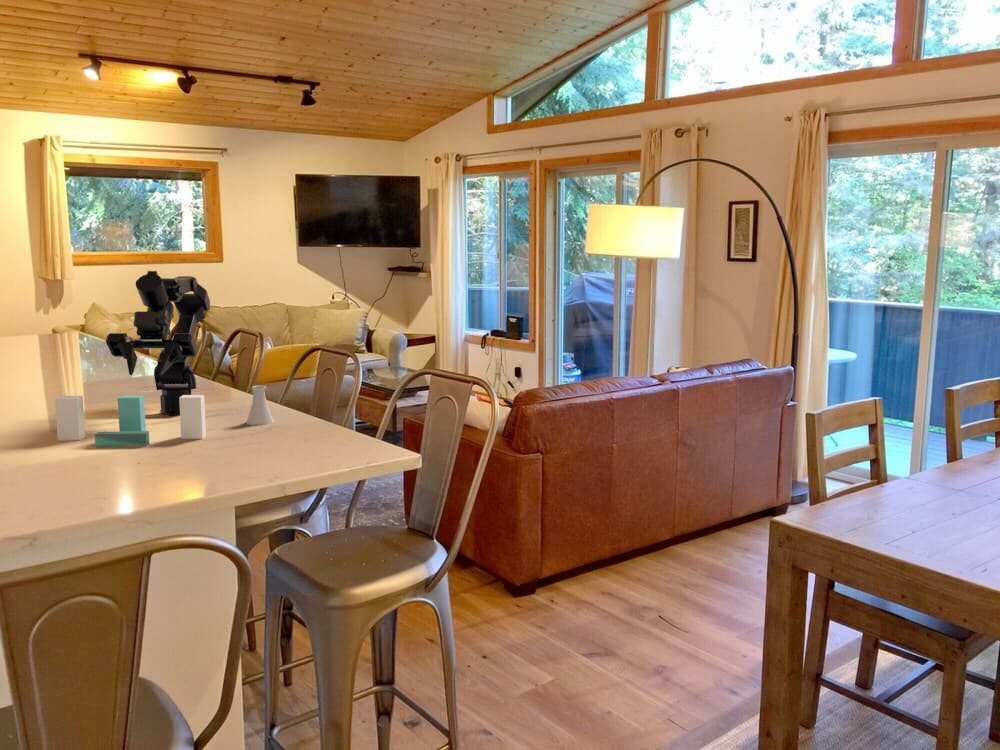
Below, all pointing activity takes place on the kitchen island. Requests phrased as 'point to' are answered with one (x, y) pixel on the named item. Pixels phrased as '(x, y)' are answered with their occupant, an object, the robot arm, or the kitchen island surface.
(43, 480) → the kitchen island surface
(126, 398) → the teal key
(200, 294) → the robot arm
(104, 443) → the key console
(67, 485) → the kitchen island surface
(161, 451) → the kitchen island surface
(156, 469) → the kitchen island surface
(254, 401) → the flask
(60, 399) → the grey key
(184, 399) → the grey key
